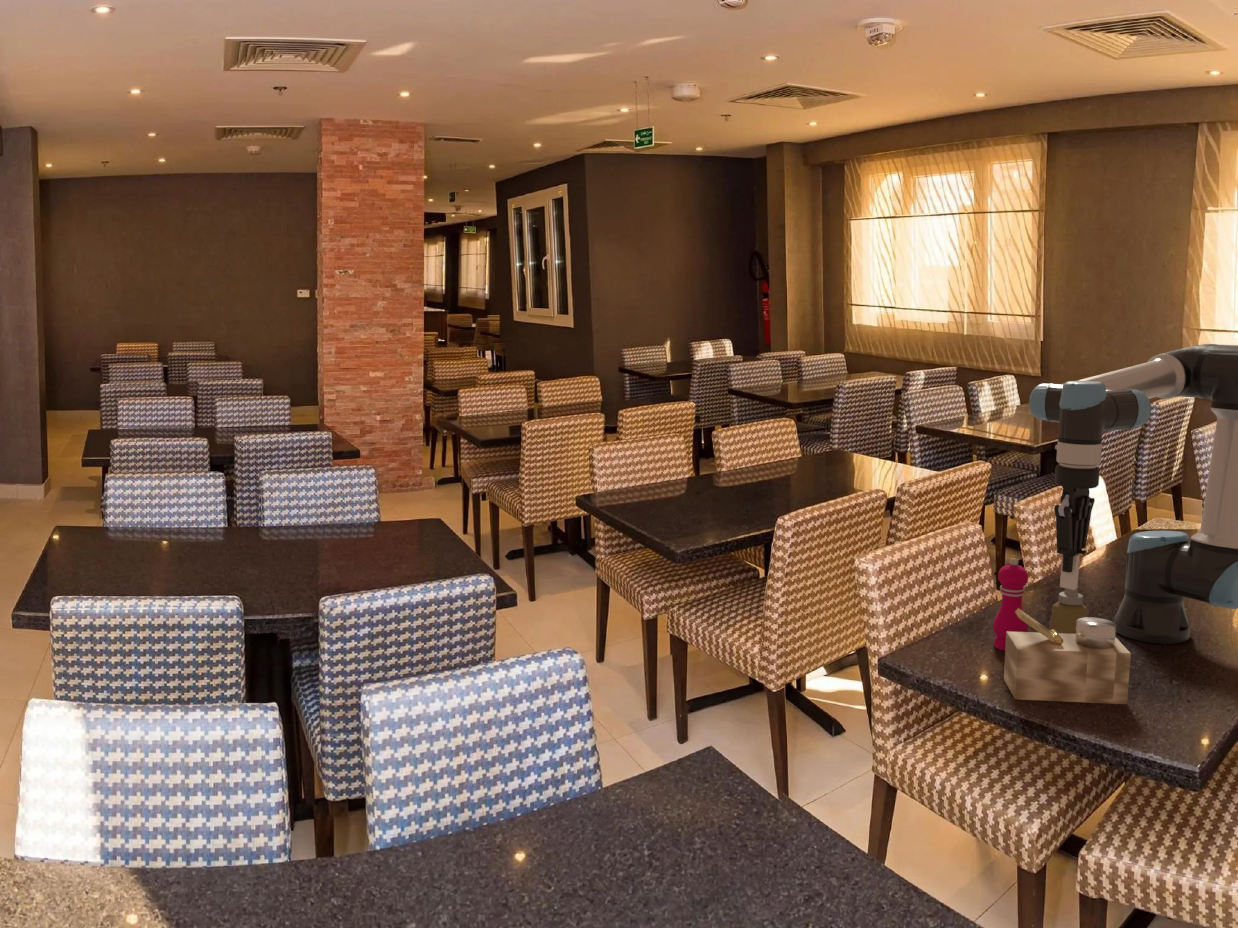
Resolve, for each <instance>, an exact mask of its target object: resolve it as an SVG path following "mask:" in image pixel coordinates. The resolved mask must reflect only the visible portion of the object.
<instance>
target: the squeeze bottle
mask: <svg viewBox="0 0 1238 928" xmlns="http://www.w3.org/2000/svg"><path fill="white" fill-rule="evenodd" d="M1083 603H1084V595H1083V594H1081V593H1079V592H1078V588H1077V589H1075V590H1072V589H1067V588H1064V591H1061V592H1059V593H1058V601H1057V602H1055V603H1054V604H1053V605H1052V610H1051V611H1052V612H1051V617H1050V622H1049V628H1048V629H1049V630H1052V629H1054V630H1056V631H1057V632H1058V633H1065V634H1076V622H1077V619H1079V618H1084V617H1089V615H1088V614H1089V613H1088V607H1087V606H1086V605H1085V604H1083Z"/></svg>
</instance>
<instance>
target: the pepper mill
mask: <svg viewBox="0 0 1238 928" xmlns="http://www.w3.org/2000/svg"><path fill="white" fill-rule="evenodd" d="M997 577H998V578H997V579H998V581H999V583H1000V584H1001V585H1000V586H999V589H1000V590H999V593H1000V594H1001V604H1000V608H999V610H998V611H997V613H996V615H995V617H994V618H993V619H994V620H993V623H992V630H993V632H994V634H995V635H996V636H994V639H993V640H994V641H993V644H994V645H993V646H994V648H996V649H998V651H1002V650H1003V652H1005V647H1006V631H1009V632H1029V625H1028V624H1027V623H1025V622H1024V621H1022V620H1021V619H1020V618H1019V617H1018V616H1017V614H1016V613H1015V611H1016V610H1017V609H1018V608H1019V609H1020V610H1022V611H1023V603H1022V600H1023V596H1024V595H1025V594H1026V592H1025V590H1026V587H1025V585H1027V583H1028V582H1029V574H1028V571H1027V570H1026V568H1025V567H1024V566H1022V565H1019V559H1018V558H1015V557H1012V558H1010V559H1009V564H1005V565H1004V566H1002V567H1001V568H1000V569H999V571H998V575H997ZM1023 612H1024V611H1023Z"/></svg>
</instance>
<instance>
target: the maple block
mask: <svg viewBox="0 0 1238 928" xmlns="http://www.w3.org/2000/svg"><path fill="white" fill-rule="evenodd" d="M1058 634H1059V635H1060V636H1061V637H1062V639H1063V643H1062V644H1061V645H1056V644H1055V643H1054V642H1052V641H1051V640H1049V639H1048V638H1047V637H1045V636H1044V635H1042V634H1041V633H1039V632H1038V631H1035V632H1033V631H1031V632H1030V631H1028V632H1009V631H1006V647H1005V651H1004V670H1003V672H1004V673H1003V681H1004V682H1005V684H1006V686H1007V687H1008V689H1009V691H1010V694H1011V695H1012V696H1013V698H1014V700H1021V701H1022V700H1023V701H1024V700H1025V701H1026V700H1027V701H1048V702H1064V703H1065V702H1068V703H1069V702H1070V703H1071V702H1072V703H1086V704H1087V703H1092V704H1108V705H1111V704H1113V705H1127V704H1128V699H1129V698H1128V696H1129V695H1128V694H1129V685H1130V684H1129V681H1130V668H1131V655H1132V654H1131V652H1130V651H1129V650H1128V648H1126V646H1125V645H1124V644H1123V643H1122V642H1121V641H1120V640H1119V639H1118V638H1117V637H1116V636H1115V645H1114V647H1113V648H1111V649H1092V648H1087V647H1084V646H1081V645H1079V644H1077V643H1076V642H1075V637H1076V634H1065V633H1058Z"/></svg>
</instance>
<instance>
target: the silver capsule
mask: <svg viewBox="0 0 1238 928" xmlns="http://www.w3.org/2000/svg"><path fill="white" fill-rule="evenodd" d="M1115 637H1116V624H1115V623H1114V621H1111V620H1110V619H1107V618H1100V617H1091V616H1090V617H1089V616H1088V617H1084V618H1079V619H1077V622H1076V637H1075V642H1076V643H1077V644H1079V645H1081V646H1084V647H1087V648H1092V649H1111V648H1113V647H1114V645H1115Z"/></svg>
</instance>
